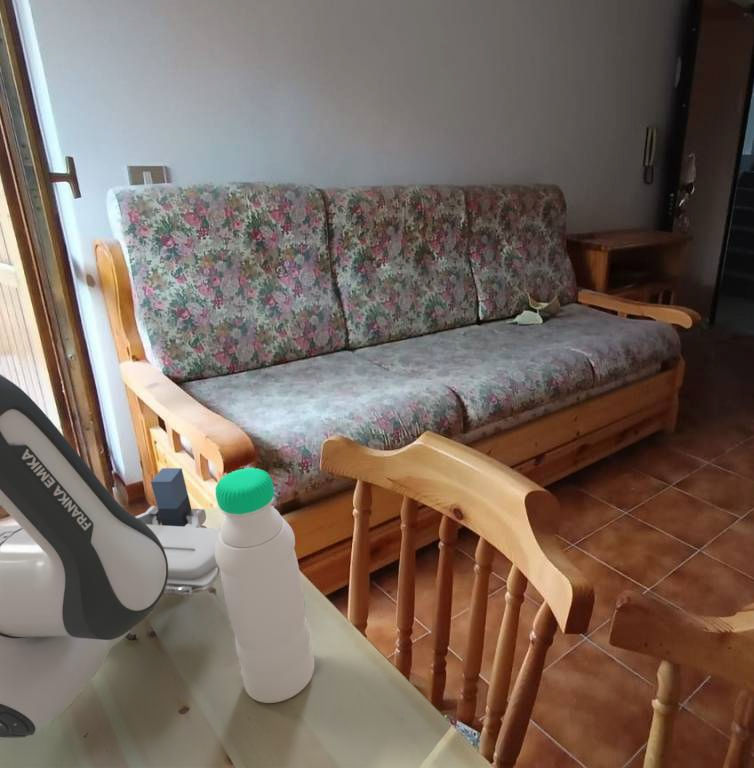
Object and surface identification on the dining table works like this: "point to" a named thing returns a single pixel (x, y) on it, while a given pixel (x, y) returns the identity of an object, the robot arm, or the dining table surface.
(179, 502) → the eraser
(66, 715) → the dining table surface
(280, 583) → the water bottle
